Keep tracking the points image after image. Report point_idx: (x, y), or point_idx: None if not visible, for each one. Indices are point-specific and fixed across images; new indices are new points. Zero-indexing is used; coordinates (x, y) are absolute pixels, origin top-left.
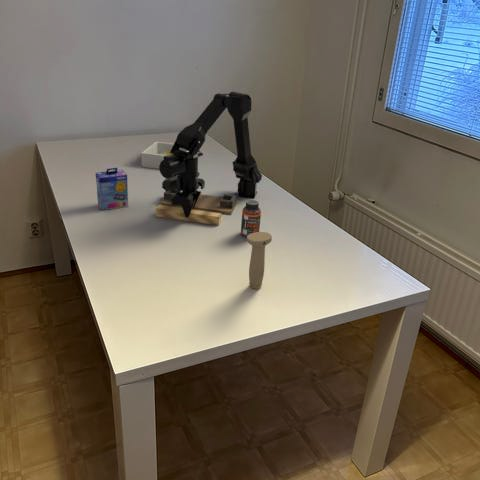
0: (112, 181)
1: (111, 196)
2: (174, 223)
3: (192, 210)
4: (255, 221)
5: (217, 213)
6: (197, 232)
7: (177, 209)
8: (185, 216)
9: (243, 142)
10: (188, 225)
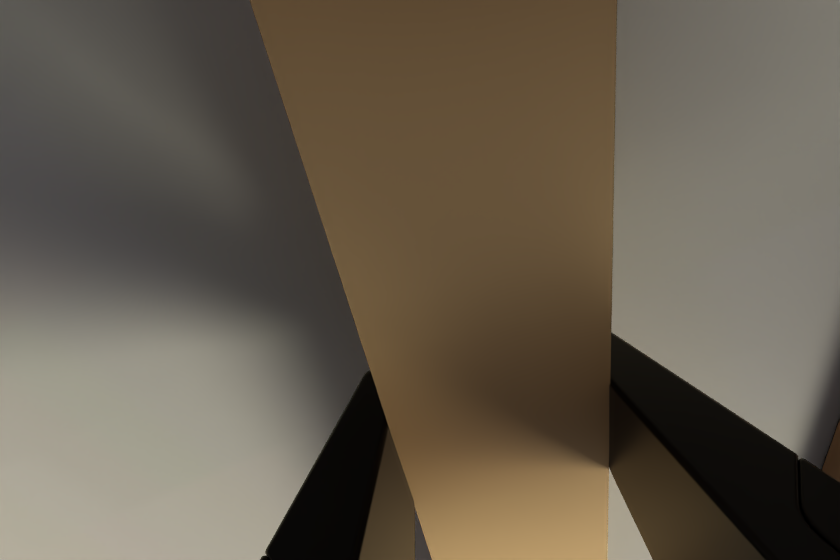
0: None
1: None
2: (147, 200)
3: (556, 480)
4: None
5: None
6: (163, 550)
7: (448, 201)
8: (365, 375)
9: None
10: (256, 408)
